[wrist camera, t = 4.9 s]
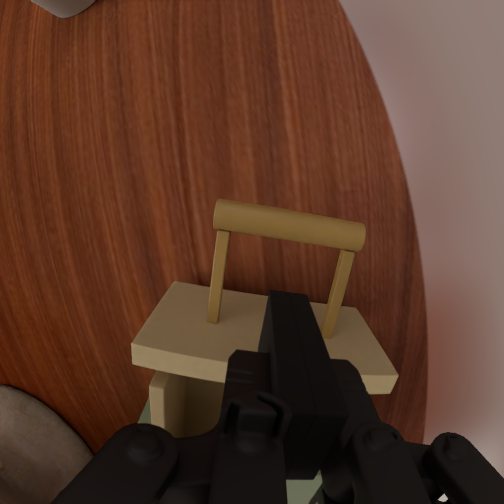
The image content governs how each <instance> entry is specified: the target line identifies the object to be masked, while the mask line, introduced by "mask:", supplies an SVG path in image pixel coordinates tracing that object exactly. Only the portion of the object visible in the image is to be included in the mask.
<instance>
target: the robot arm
mask: <svg viewBox="0 0 504 504" xmlns="http://www.w3.org/2000/svg"><path fill="white" fill-rule="evenodd" d="M319 470H320V472H321V477H322V484H321V485H320V487H319V488H318V490H317V491H316V493H315V494H314V496H313V497H312V498H311V500H310V501H309V504H316V503H318V504H504V478H503V477H502V476H501V475H500V474H499V473H498V472H497V471H496V469H495V468H494V467H493V466H492V465H491V464H490V463H489V462H488V461H487V460H486V459H485V458H484V457H483V456H482V454H481V453H480V452H479V451H478V450H477V449H476V448H475V447H474V446H473V445H472V444H471V442H470V441H468V440H467V439H466V438H465V437H463V436H461V435H459V434H456V433H450V432H447V433H442V434H440V435H439V436H437V437H436V438H435V439H434V441H433V442H432V443H431V445H425V444H417V443H410V442H406V441H404V439H403V437H402V436H401V434H400V433H399V432H398V430H396V429H395V428H393V427H392V426H391V425H388V424H386V423H383V422H381V421H380V419H379V416H378V414H377V412H376V409H375V407H374V405H373V403H372V400H371V398H370V396H369V393H368V391H366V387H365V384H364V382H362V378H361V376H360V373H359V371H358V369H357V368H356V367H355V366H354V365H353V364H352V363H351V362H349V361H348V360H346V359H331V358H330V356H329V353H328V350H327V348H326V345H325V342H324V339H323V337H322V334H321V331H320V328H319V326H318V323H317V320H316V318H315V315H314V312H313V310H312V307H311V304H310V302H309V299H308V296H307V295H304V294H297V293H290V292H283V291H276V290H269V295H268V300H267V305H266V310H265V315H264V320H263V325H262V330H261V335H260V340H259V345H258V352H254V351H247V350H240V349H236V350H235V351H234V353H233V354H232V355H231V356H230V357H229V358H228V364H227V371H226V378H225V385H224V391H223V398H222V405H221V412H220V418H219V421H218V423H217V424H216V425H215V427H214V428H213V429H211V430H210V431H208V432H207V433H204V434H202V435H199V436H193V437H180V438H174V437H173V436H172V435H171V433H170V432H168V431H166V430H165V429H163V428H162V427H160V426H156V425H153V424H149V423H134V424H131V425H127V426H124V427H123V428H121V429H120V430H118V431H117V432H116V433H115V434H114V435H113V436H112V437H111V438H110V439H109V440H108V441H107V442H106V444H105V445H104V446H103V447H102V448H101V449H100V450H99V451H98V452H97V453H96V455H95V456H94V457H93V458H92V459H91V460H90V461H89V462H88V463H87V464H86V465H85V467H84V468H83V469H82V470H81V471H80V472H79V473H78V474H77V475H76V476H75V477H74V478H73V480H72V481H71V482H70V483H69V484H68V485H67V486H66V487H65V488H64V489H63V490H62V491H61V492H60V494H59V495H58V496H57V497H56V498H55V499H54V500H53V501H52V502H51V503H50V504H288V500H287V486H286V480H314V478H315V477H316V475H317V473H318V472H319ZM443 494H445V495H446V496H447V498H448V500H447V501H446V502H441V501H439V500H438V499H439V498H440V497H441V496H442V495H443Z"/></svg>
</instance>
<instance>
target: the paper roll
mask: <svg viewBox="0 0 504 504" xmlns="http://www.w3.org/2000/svg"><path fill="white" fill-rule="evenodd" d="M30 1H32V2H34V3H36V4H37V5H39V6H41V7H42V8H44V9H46V10H47V11H49V12H51V13H52V14H54V15H55V16H57V17H60V18H68V17H71V16H74V15H77V14H78V13H80V12H82V11H84V10H85V9H86V8H88V7H89V6H90V5H91V4H93V3H94V2H95V1H96V0H30Z"/></svg>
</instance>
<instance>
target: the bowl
mask: <svg viewBox="0 0 504 504" xmlns="http://www.w3.org/2000/svg"><path fill="white" fill-rule="evenodd" d="M93 457H94V455H93V454H92V452H91V451H90V449H89V448H88V446H87V445H86V444H85V442H84V441H83V440H82V439H81V438H80V437H79V436H78V434H77V433H76V432H75V431H74V430H73V429H72V428H71V427H70V426H69V425H68V424H67V423H66V422H65V421H64V420H63V419H62V418H61V417H60V416H58V415H57V414H56V413H55V412H54V411H52V410H51V409H50V408H48V407H47V406H46V405H44V404H43V403H41V402H40V401H38V400H37V399H35V398H33V397H32V396H30V395H28V394H26V393H25V392H23V391H21V390H18V389H15V388H13V387H10V386H7V385H0V504H50V503H51V502H52V501H53V500H54V499H55V498H56V496H57V494H58V492H59V491H60V490H62V489H64V488H65V487H66V486H67V485H68V484H69V483H70V482H71V481H72V480H73V478H74V477H75V476H76V475H77V474H78V473H79V472H80V471H81V470H82V469H83V468H84V467H85V465H86V464H87V463H88V462H89V461H90V460H91V459H92V458H93Z"/></svg>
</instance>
